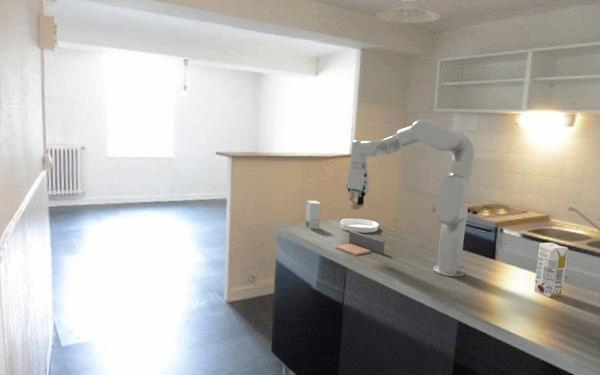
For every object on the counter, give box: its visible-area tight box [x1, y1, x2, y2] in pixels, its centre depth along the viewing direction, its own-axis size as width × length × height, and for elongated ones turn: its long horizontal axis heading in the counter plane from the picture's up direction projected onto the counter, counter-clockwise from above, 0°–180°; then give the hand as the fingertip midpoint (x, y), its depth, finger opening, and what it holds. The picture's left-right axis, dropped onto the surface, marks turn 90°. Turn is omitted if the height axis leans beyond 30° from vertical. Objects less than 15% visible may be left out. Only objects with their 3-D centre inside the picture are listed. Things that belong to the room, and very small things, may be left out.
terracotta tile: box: [335, 243, 371, 256], centre depth 209 cm, size 14×10×1 cm
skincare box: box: [304, 200, 322, 230], centre depth 251 cm, size 8×7×16 cm
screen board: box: [348, 231, 385, 255], centre depth 214 cm, size 22×2×6 cm, turn 38°
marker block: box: [348, 189, 365, 211], centre depth 205 cm, size 5×5×9 cm
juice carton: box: [533, 242, 569, 298], centre depth 161 cm, size 8×9×19 cm
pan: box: [339, 218, 380, 234], centre depth 255 cm, size 24×27×4 cm
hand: (356, 203), depth 206 cm, fingers closed on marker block, 5 cm apart
